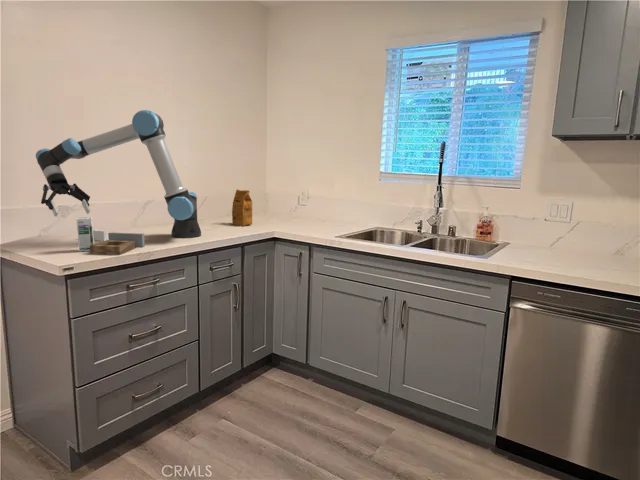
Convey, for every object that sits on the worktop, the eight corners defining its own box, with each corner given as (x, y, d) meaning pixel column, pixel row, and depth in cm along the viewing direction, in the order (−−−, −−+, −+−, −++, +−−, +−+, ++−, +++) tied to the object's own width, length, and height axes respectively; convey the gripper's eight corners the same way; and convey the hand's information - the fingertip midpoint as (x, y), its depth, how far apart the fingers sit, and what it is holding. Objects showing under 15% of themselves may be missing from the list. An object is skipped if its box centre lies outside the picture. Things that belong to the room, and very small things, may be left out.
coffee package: (242, 223, 284) (241, 188, 280) (254, 225, 276) (254, 190, 272) (229, 224, 277) (228, 189, 273) (242, 226, 269) (241, 190, 265)
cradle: (134, 248, 199) (134, 241, 198) (119, 254, 186) (119, 246, 185) (107, 247, 199) (106, 240, 199) (90, 253, 187) (89, 245, 186)
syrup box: (78, 252, 190) (76, 218, 187) (80, 249, 195) (77, 216, 192) (93, 251, 192) (91, 218, 189) (94, 248, 197) (92, 216, 195)
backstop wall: (144, 246, 205) (144, 233, 204) (142, 247, 203) (141, 234, 202) (111, 245, 206) (110, 232, 205) (109, 245, 204) (108, 233, 203)
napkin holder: (113, 241, 217) (112, 230, 216) (87, 244, 210) (86, 232, 209) (105, 237, 229) (104, 226, 228) (81, 239, 222) (80, 228, 221)
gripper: (81, 182, 214) (98, 216, 208) (22, 184, 195) (40, 221, 188) (85, 171, 210) (103, 205, 204) (26, 172, 191) (44, 209, 184)
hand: (73, 213), depth 196 cm, fingers open, 13 cm apart
